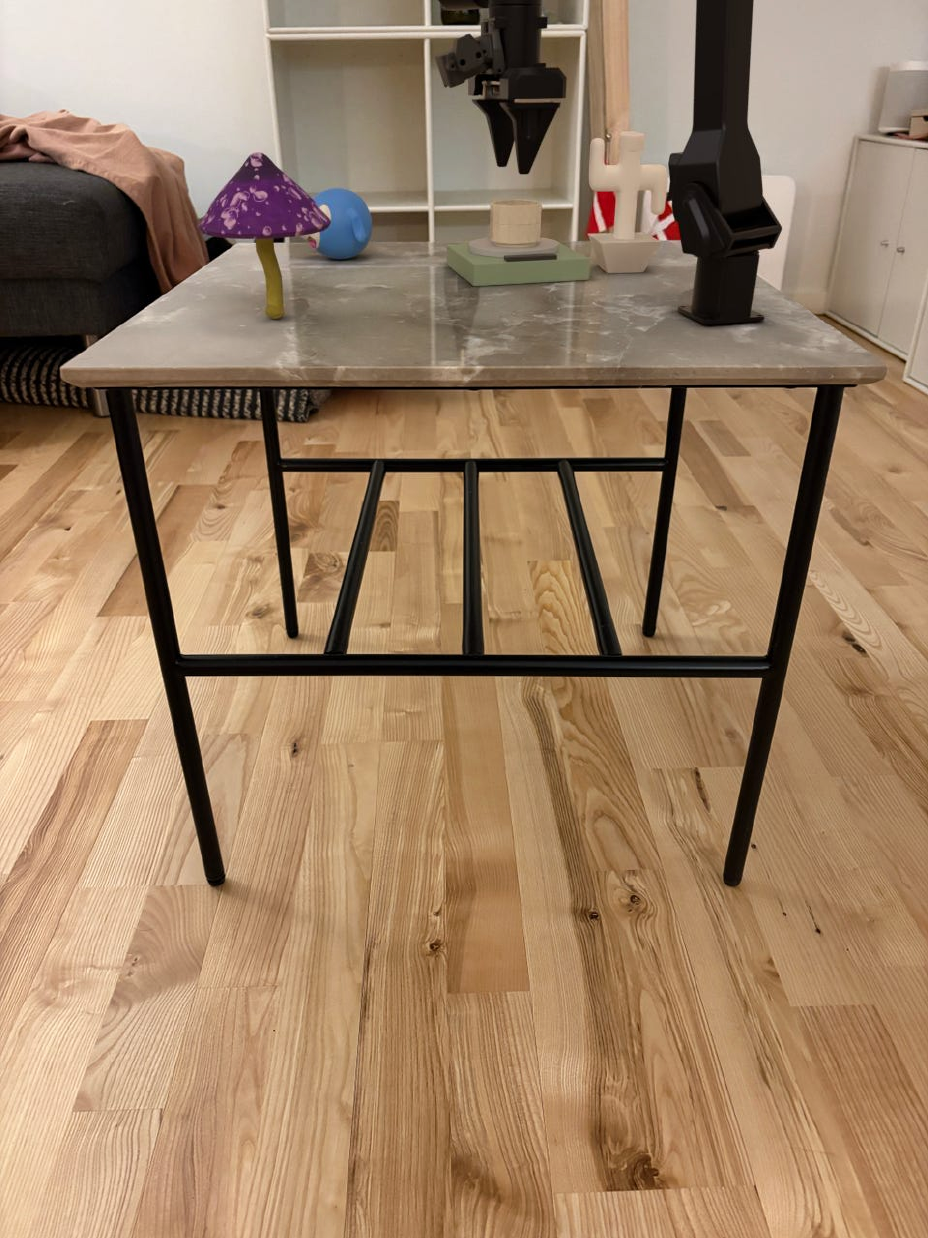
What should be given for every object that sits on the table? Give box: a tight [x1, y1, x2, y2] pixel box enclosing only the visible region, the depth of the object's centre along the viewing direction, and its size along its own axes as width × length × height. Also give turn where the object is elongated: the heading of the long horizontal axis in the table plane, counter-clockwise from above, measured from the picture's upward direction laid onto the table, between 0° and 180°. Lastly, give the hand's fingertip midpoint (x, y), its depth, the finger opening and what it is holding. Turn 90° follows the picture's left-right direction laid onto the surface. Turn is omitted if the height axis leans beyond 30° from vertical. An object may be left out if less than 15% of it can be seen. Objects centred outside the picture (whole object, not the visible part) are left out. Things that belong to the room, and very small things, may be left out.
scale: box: [446, 236, 591, 287], centre depth 112 cm, size 14×14×3 cm
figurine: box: [587, 130, 669, 274], centre depth 109 cm, size 7×9×15 cm
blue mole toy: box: [298, 187, 373, 260], centre depth 118 cm, size 12×12×8 cm
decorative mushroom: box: [197, 151, 331, 320], centre depth 88 cm, size 12×12×15 cm
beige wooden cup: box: [489, 198, 543, 248], centre depth 109 cm, size 6×6×5 cm
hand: (512, 170), depth 105 cm, fingers open, 9 cm apart
